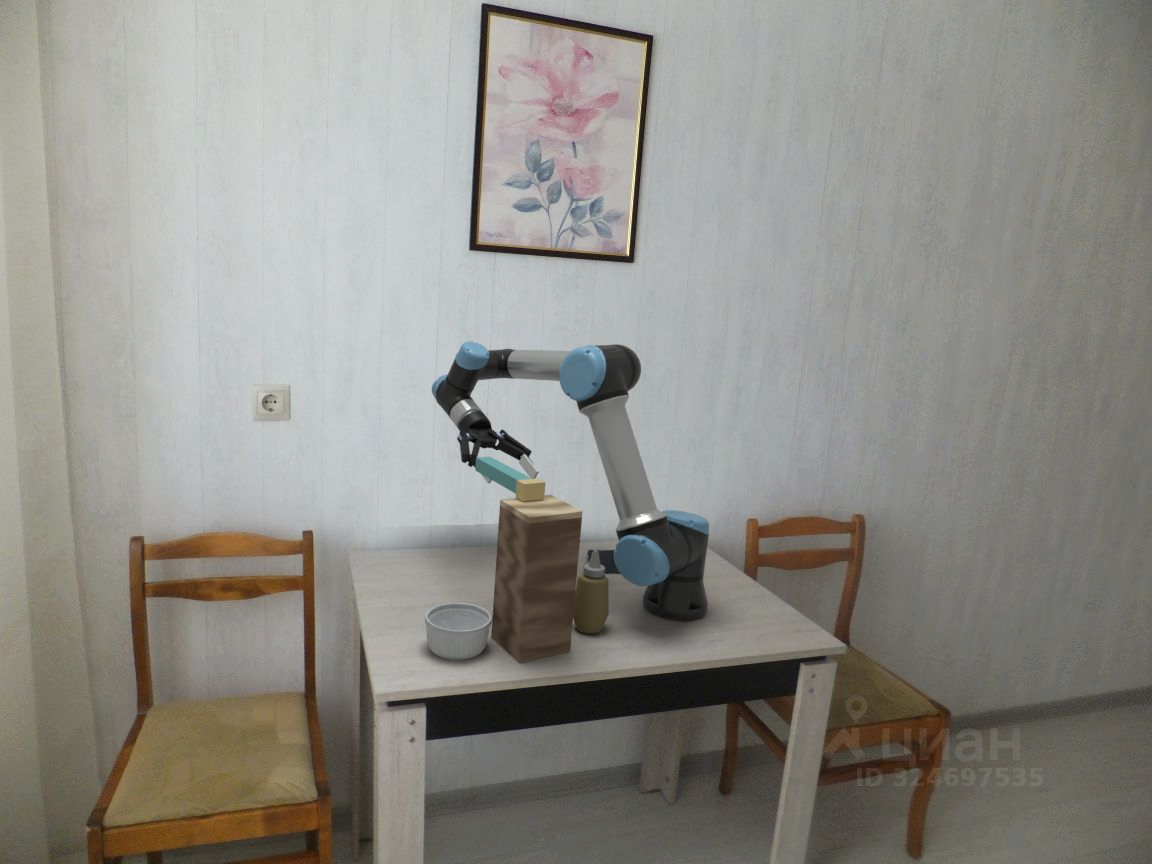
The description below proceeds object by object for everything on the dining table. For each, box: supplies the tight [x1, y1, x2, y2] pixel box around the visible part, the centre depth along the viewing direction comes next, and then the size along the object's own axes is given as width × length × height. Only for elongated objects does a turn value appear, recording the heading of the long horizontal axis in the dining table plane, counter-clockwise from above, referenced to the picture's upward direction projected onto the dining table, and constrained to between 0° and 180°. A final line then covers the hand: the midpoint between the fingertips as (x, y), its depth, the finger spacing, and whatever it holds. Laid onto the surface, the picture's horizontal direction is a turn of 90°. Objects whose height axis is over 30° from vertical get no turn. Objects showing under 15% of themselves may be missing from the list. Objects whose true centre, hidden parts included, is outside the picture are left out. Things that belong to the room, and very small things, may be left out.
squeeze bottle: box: [573, 549, 610, 635], centre depth 181 cm, size 8×8×18 cm
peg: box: [475, 456, 546, 501], centre depth 178 cm, size 23×5×4 cm, turn 33°
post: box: [490, 494, 583, 664], centre depth 170 cm, size 12×12×30 cm
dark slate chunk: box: [586, 549, 621, 575], centre depth 224 cm, size 15×22×5 cm
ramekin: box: [424, 602, 492, 661], centre depth 169 cm, size 13×13×7 cm
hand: (514, 477), depth 198 cm, fingers open, 13 cm apart
